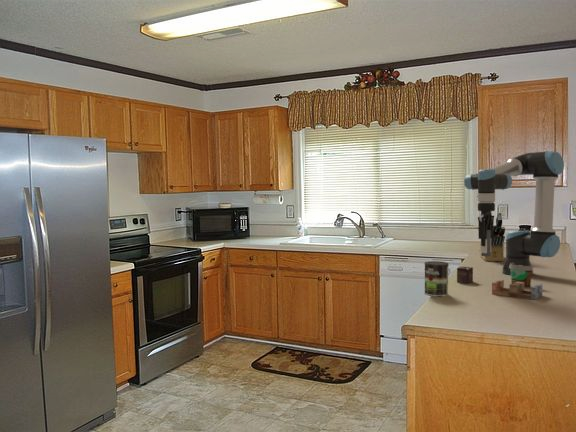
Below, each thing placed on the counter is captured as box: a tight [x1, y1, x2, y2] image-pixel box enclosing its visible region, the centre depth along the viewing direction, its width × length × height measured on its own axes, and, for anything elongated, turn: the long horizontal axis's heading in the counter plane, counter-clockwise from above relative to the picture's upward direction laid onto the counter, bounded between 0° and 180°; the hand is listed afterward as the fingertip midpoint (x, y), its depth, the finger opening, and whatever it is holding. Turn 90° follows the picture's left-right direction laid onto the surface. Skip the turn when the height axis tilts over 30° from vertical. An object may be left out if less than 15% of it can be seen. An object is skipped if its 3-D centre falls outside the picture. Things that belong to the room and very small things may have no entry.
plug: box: [480, 230, 491, 257], centre depth 244 cm, size 4×4×12 cm
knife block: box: [478, 211, 506, 262], centre depth 332 cm, size 11×35×31 cm, turn 167°
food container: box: [509, 263, 534, 288], centre depth 249 cm, size 12×6×10 cm, turn 21°
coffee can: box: [424, 260, 450, 297], centre depth 232 cm, size 10×10×14 cm
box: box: [456, 266, 474, 285], centre depth 259 cm, size 6×6×7 cm
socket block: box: [491, 279, 543, 300], centre depth 228 cm, size 10×18×5 cm, turn 48°
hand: (485, 252), depth 244 cm, fingers closed on plug, 4 cm apart
